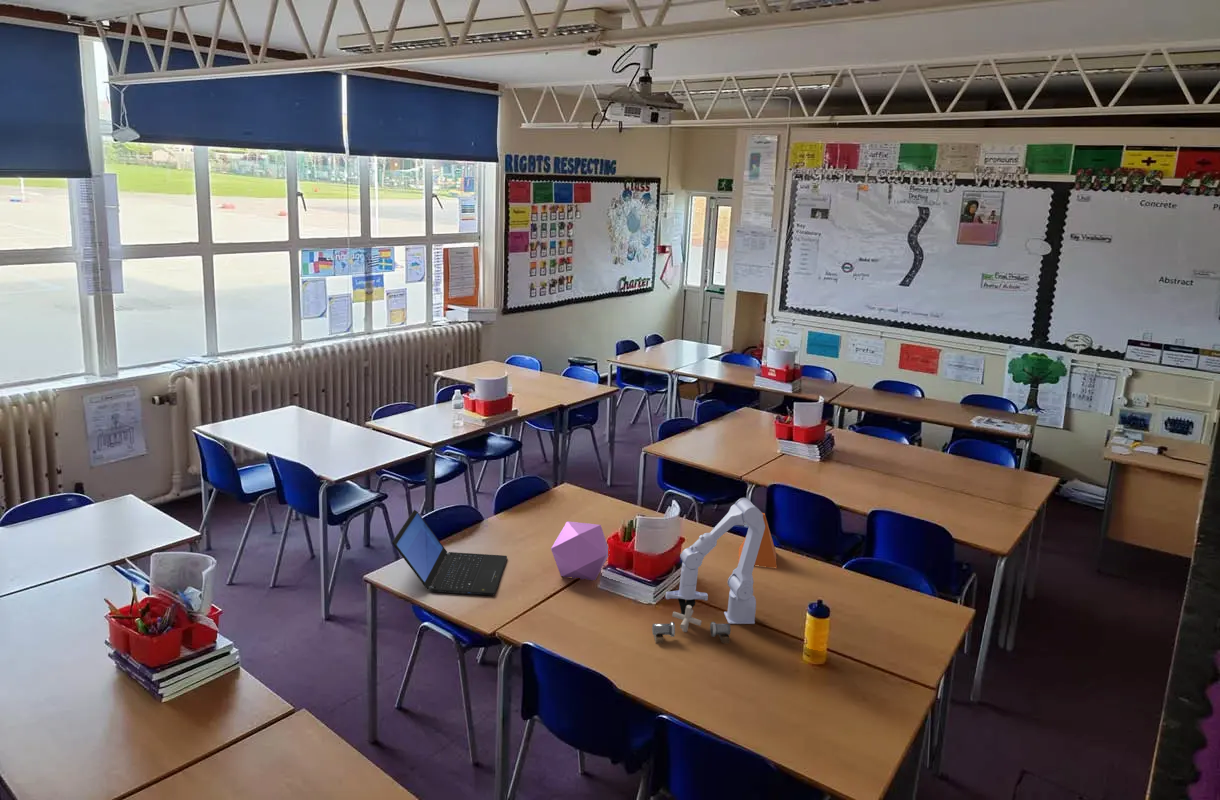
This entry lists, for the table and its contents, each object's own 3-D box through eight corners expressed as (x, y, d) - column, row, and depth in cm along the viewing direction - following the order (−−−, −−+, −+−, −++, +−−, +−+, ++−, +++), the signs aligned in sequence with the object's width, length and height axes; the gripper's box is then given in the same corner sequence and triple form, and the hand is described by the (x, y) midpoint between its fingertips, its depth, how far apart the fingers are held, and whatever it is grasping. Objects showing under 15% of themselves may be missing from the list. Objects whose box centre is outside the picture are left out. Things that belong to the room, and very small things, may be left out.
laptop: (494, 598, 308) (495, 548, 303) (391, 591, 308) (391, 542, 303) (508, 558, 340) (509, 513, 335) (414, 552, 340) (414, 507, 335)
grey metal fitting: (671, 635, 288) (673, 619, 287) (674, 643, 283) (675, 626, 282) (651, 635, 288) (652, 619, 286) (653, 643, 283) (654, 626, 281)
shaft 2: (726, 635, 290) (728, 619, 289) (729, 643, 285) (731, 626, 284) (709, 635, 290) (710, 619, 288) (712, 643, 285) (713, 626, 283)
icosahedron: (561, 538, 344) (556, 506, 325) (613, 544, 342) (611, 511, 322) (551, 588, 331) (545, 558, 311) (605, 595, 328) (602, 564, 309)
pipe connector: (694, 643, 286) (699, 619, 282) (666, 633, 289) (670, 609, 285) (702, 627, 295) (707, 603, 291) (675, 618, 298) (679, 594, 294)
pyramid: (737, 564, 346) (742, 518, 341) (738, 548, 361) (743, 504, 356) (777, 569, 344) (782, 523, 339) (776, 553, 359) (781, 509, 354)
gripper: (706, 577, 298) (702, 612, 302) (665, 575, 297) (662, 611, 300) (710, 586, 292) (706, 622, 295) (669, 585, 290) (665, 621, 294)
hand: (684, 617), depth 297 cm, fingers closed
